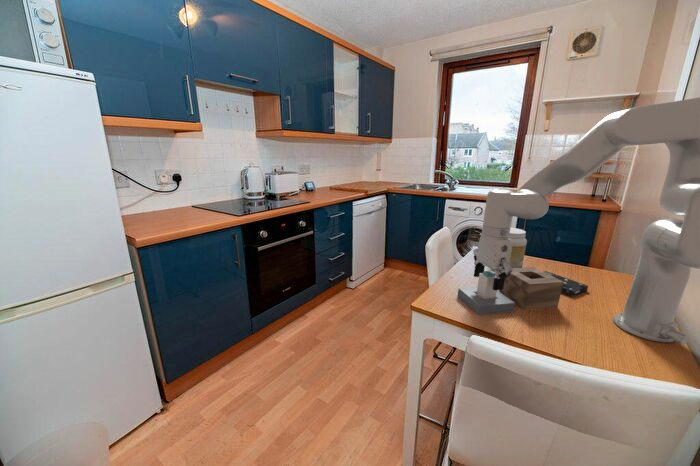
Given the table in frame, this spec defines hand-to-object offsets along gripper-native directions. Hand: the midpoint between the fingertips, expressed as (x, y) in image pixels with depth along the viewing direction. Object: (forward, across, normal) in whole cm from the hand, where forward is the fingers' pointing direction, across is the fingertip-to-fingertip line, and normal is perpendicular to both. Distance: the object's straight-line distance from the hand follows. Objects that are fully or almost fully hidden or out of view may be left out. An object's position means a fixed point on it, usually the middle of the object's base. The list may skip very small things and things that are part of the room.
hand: (487, 282), depth 91 cm
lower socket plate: (+7, 0, 0) cm, 7 cm away
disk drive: (+8, +8, -36) cm, 38 cm away
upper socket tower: (+7, 0, -16) cm, 18 cm away
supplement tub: (+8, +26, -28) cm, 39 cm away
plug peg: (+7, 0, 0) cm, 7 cm away
